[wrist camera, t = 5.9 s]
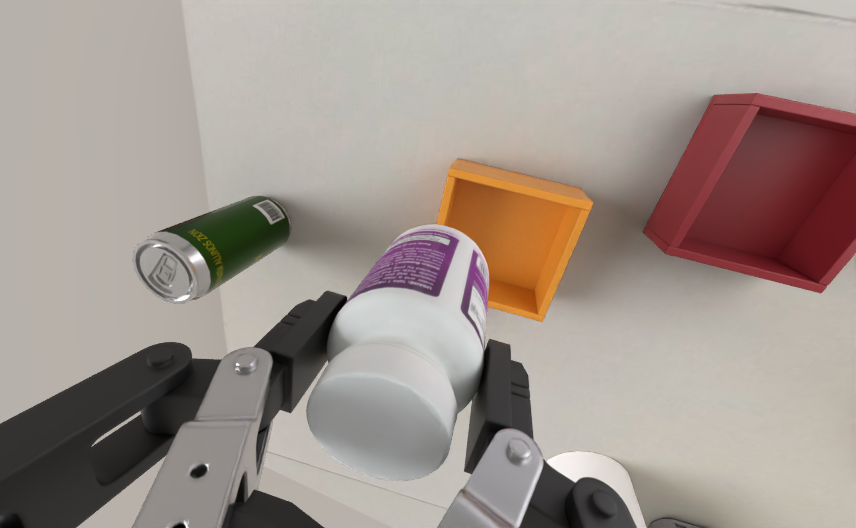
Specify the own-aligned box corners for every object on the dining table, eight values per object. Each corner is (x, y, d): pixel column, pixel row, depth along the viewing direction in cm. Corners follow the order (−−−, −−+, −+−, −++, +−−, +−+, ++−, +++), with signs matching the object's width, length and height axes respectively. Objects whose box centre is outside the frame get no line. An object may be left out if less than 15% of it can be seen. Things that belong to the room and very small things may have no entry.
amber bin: (457, 158, 29) (449, 167, 25) (581, 188, 28) (594, 202, 24) (432, 265, 33) (422, 288, 29) (537, 295, 32) (542, 322, 28)
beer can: (257, 182, 33) (139, 220, 22) (303, 218, 34) (210, 271, 23) (237, 222, 35) (121, 274, 25) (280, 255, 36) (186, 319, 25)
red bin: (713, 94, 23) (756, 93, 19) (876, 128, 23) (956, 134, 19) (642, 232, 28) (665, 253, 24) (775, 265, 27) (821, 293, 23)
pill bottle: (370, 284, 19) (257, 437, 10) (414, 201, 16) (314, 311, 8) (456, 333, 19) (416, 524, 10) (512, 258, 17) (520, 428, 8)
